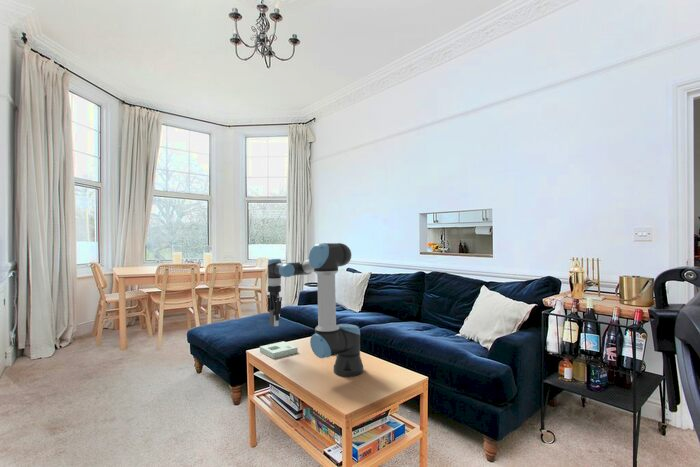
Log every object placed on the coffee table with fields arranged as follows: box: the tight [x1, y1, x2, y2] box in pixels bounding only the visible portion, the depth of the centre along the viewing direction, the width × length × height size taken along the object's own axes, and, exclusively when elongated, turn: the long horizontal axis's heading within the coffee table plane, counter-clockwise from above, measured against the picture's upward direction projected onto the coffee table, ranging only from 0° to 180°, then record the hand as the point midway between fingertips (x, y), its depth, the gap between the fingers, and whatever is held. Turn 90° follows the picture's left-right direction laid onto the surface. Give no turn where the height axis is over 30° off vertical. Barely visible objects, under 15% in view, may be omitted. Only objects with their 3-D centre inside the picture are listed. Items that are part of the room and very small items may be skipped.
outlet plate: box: [259, 341, 299, 359], centre depth 208 cm, size 16×16×3 cm
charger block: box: [268, 309, 275, 328], centre depth 206 cm, size 4×4×9 cm
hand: (274, 325), depth 206 cm, fingers closed on charger block, 4 cm apart
